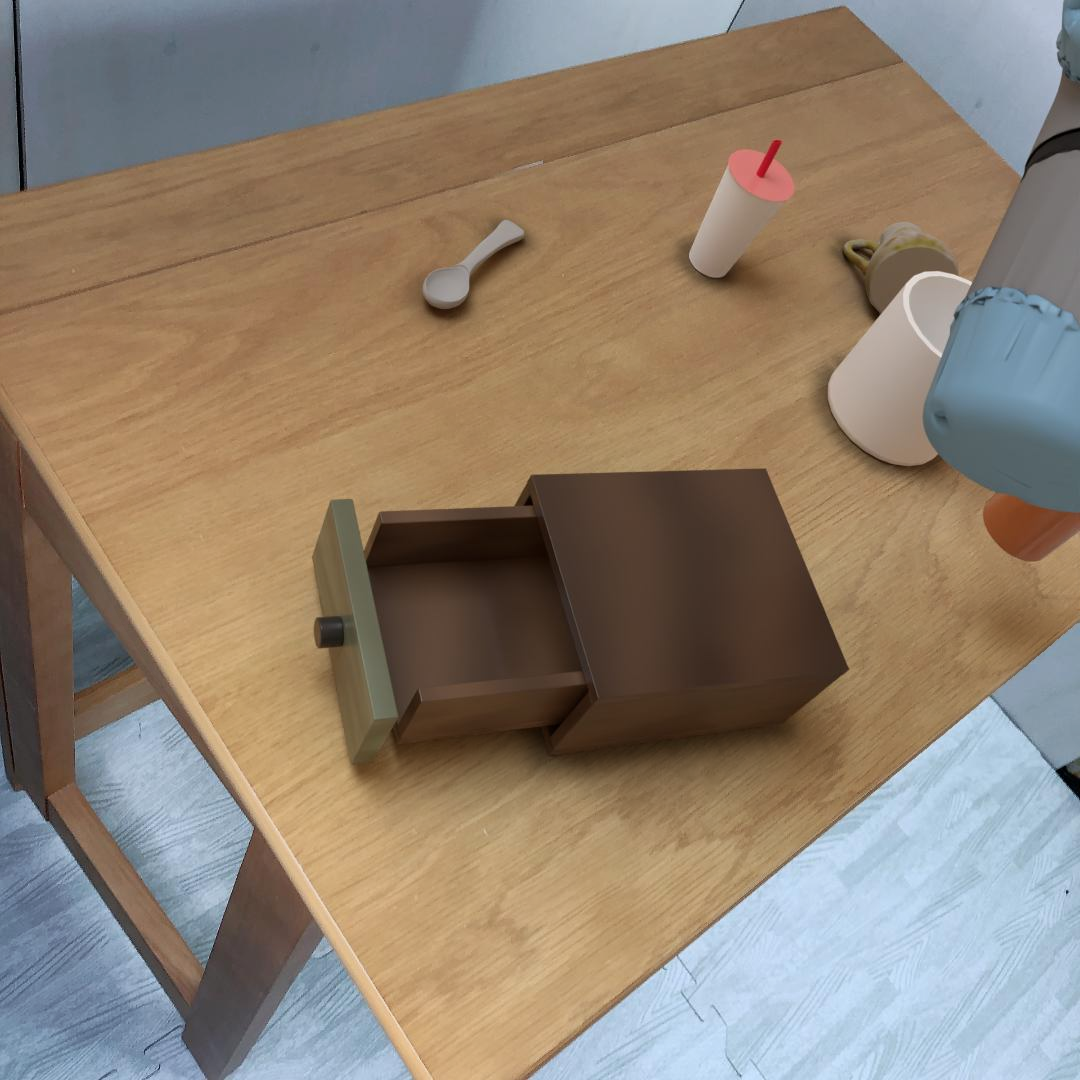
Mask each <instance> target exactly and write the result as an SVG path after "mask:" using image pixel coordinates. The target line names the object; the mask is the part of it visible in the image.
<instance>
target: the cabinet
mask: <svg viewBox="0 0 1080 1080" xmlns="http://www.w3.org/2000/svg"><path fill="white" fill-rule="evenodd" d="M532 505H534V508H535V512H536V515H537V518H538V522H539V525H540V528H541V532H542V535H543V539H544V542H545V545H546V549H547V552H548V555H549V559H550V562H551V566H552V569H553V572H554V576H555V579H556V582H557V586H558V589H559V593H560V596H561V599H562V603H563V606H564V609H565V613H566V616H567V620H568V623H569V626H570V630H571V633H572V636H573V640H574V643H575V647H576V650H577V653H578V657H579V660H580V663H581V667H582V670H583V674H584V677H585V680H586V684H587V687H588V690H589V692H588V693H587V694H586V696H585V697H584V698H583V699H582V700H581V702H580V703H579V704H578V705H577V706H576V707H575V709H574V710H573V711H572V712H571V713H570V715H569V716H568V717H567V718H566V719H565V720H564V722H563V723H562V724H556V725H548V726H540V729H541V733H542V736H543V740H544V743H545V744H544V745H545V747H546V750H547V755H548V756H555V755H556V756H557V755H565V754H572V753H579V752H586V751H587V752H588V751H594V750H595V751H596V750H602V749H609V748H617V747H624V746H631V745H638V744H646V743H652V742H661V741H667V740H668V741H669V740H675V739H682V738H683V739H684V738H689V737H696V736H697V737H698V736H703V735H712V734H719V733H727V732H735V731H740V730H741V731H742V730H748V729H756V728H763V727H764V728H765V727H769V726H771V727H772V726H778V725H783V724H784V723H785V722H787V721H788V720H790V718H792V717H793V716H794V715H795V714H796V713H798V712H799V711H800V710H801V709H802V708H804V707H805V706H806V705H807V704H809V703H810V702H811V701H812V700H814V699H815V698H816V697H817V696H819V695H820V694H821V693H822V692H823V691H824V690H826V689H827V688H828V687H829V686H831V685H832V684H833V683H834V682H836V681H837V680H838V679H839V678H841V677H842V676H843V675H845V674H846V673H847V672H848V671H850V668H849V665H848V663H847V661H846V658H845V656H844V653H843V651H842V648H841V646H840V644H839V641H838V639H837V636H836V635H835V634H836V633H835V631H834V629H833V627H832V624H831V622H830V620H829V617H828V614H827V612H826V610H825V607H824V605H823V603H822V601H821V598H820V595H819V593H818V591H817V588H816V586H815V584H814V581H813V578H812V576H811V574H810V571H809V569H808V566H807V564H806V562H805V559H804V557H803V555H802V552H801V549H800V548H799V545H798V543H797V540H796V537H795V535H794V533H793V531H792V527H791V526H790V523H789V521H788V518H787V516H786V514H785V511H784V508H783V506H782V504H781V501H780V499H779V496H778V494H777V492H776V490H775V487H774V485H773V482H772V480H771V477H770V474H769V472H768V471H767V468H765V467H763V468H762V467H761V468H732V469H731V468H727V469H725V468H724V469H691V470H689V469H687V470H656V471H655V470H653V471H652V470H651V471H616V472H615V471H614V472H582V473H581V472H576V473H545V474H544V473H543V474H541V473H540V474H531V475H530V476H529V478H528V480H527V481H526V484H525V486H524V487H523V489H522V491H521V493H520V494H519V496H518V498H517V500H516V502H515V504H514V505H513V506H532Z"/></svg>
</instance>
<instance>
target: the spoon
mask: <svg viewBox="0 0 1080 1080" xmlns="http://www.w3.org/2000/svg"><path fill="white" fill-rule="evenodd" d="M524 237H525V231H524V229H523V228H521V227H520V226H518V225H517V224H516V223H514V222H513V221H512V220H508V219H503V220H502V221H501V222H500V223H499V224H498V226H497V227H496V228H495V229H494V230H492V232H491V233H490V234H489V235H488V236H486V237H485V238H484V239H483V240H481V242H480V243H479V244H478V245H477V246H476V247H475V248H474V249H473V250H472V251H471V252H470V253H469V254H468V255H467V256H466V257H465V258H464V259H463V260H462V261H461V262H459V263H458V264H456V265H453V266H449V267H442V268H436V269H434V270H433V271H430V273H428V275H427V276H426V277H425V279H424V280H423V283H422V295H423V297H424V299H425V301H426V302H427V303H428V304H429V305H430V306H431V307H433V308H436V309H439V310H450V309H453V308H457V307H458V306H460V305H461V304H462V303H463V302H464V301H466V299H467V297H468V295H469V293H470V279H471V276H472V275H473V273H474V272H475V271H476V270H477V269H478V268H479V267H480V266H481V265H482V264H483V263H484V262H486V261H487V260H489V258H490V257H492V256H493V255H495V253H497V252H498V251H500V250H502V249H505V247H508V246H511V245H513V244H515V243H517V242H519V241H521V240H522V239H523V238H524Z"/></svg>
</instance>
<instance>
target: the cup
mask: <svg viewBox="0 0 1080 1080" xmlns="http://www.w3.org/2000/svg"><path fill="white" fill-rule="evenodd" d="M782 143H783V140H781V139H774V140H772V142H771V144H770V146H769V147H768V149H767V151H766V153H763V152H762V151H758V150H754V149H747V148H746V149H738V150H735V151H733V153H731V154H730V156H729V158H728V164H727V166H726V168H725V171H724V172H723V175H722V177H721V180H720V182H719V184H718V186H717V189H716V190H715V193H714V195H713V197H712V200H711V202H710V204H709V206H708V208H707V210H706V213H705V216H704V218H703V220H702V222H701V224H700V226H699V229H698V231H697V234H696V236H695V238H694V241H693V243H692V246H691V248H690V250H689V253H688V259H689V262H690V263H691V265H692V266H693V268H694V269H696V270H697V271H698V272H699V273H701V274H703V275H704V276H707V277H708V278H709V277H710V278H713V279H714V278H715V279H716V278H717V279H718V278H723V277H725V276H726V275H727V274H728V273H729V271H730V270H731V269H732V268H733V267H734V265H735V264H736V263H737V261H739V259H740V258H741V257H742V256H743V254H744V253H745V252H746V251H747V250H748V249H749V247H750V246H751V245H752V244H753V242H754V241H755V240H756V239H757V237H758V236H759V235H760V233H761V232H762V231H763V230H764V229H765V227H766V226H767V225H769V222H770V221H771V220H772V219H773V218H774V216H775V215H776V214H777V213H778V211H779V210H780V208H782V206H783V205H784V204H785V202H786V201H788V200H789V199H791V198H792V197H793V196H794V194H795V190H796V189H795V188H796V187H795V182H794V179H793V178H792V176H791V174H790V172H789V171H788V170H787V169H786V167H784V165H782V164H781V163H780V162H779V161H778V160H776V159H775V157H776V155H777V153H778V151H779V150H780V148H781V145H782Z"/></svg>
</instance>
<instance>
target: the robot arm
mask: <svg viewBox="0 0 1080 1080" xmlns="http://www.w3.org/2000/svg"><path fill="white" fill-rule="evenodd" d="M1055 46H1056V49H1057V52H1056V57H1057V61H1058V65H1059V66H1060V67H1061V77H1060V82H1059V85H1058V88H1057V92H1056V95H1055V97H1054V100H1053V102H1052V104H1051V106H1050V109H1049V111H1048V113H1047V115H1046V117H1045V119H1044V121H1043V124H1042V126H1041V128H1040V130H1039V132H1038V135H1037V137H1036V139H1035V141H1034V143H1033V146H1032V148H1031V150H1030V152H1029V155H1028V157H1027V159H1026V162H1025V164H1024V170H1023V171H1024V172H1023V175H1022V177H1021V179H1020V181H1019V183H1018V185H1017V187H1016V190H1015V192H1014V193H1013V196H1012V197H1011V200H1010V203H1009V204H1008V207H1007V208H1006V211H1005V212H1004V214H1003V217H1002V219H1001V221H1000V223H999V225H998V228H997V230H996V232H995V234H994V235H993V238H992V240H991V241H990V244H989V246H988V249H987V250H986V253H985V255H984V256H983V259H982V260H981V263H980V265H979V267H978V270H977V272H976V273H975V276H974V278H973V280H972V281H971V282H972V284H971V286H970V288H969V290H968V292H967V295H966V297H965V298H964V299H963V301H962V302H961V303H960V305H959V306H958V307H957V309H956V311H955V313H954V315H953V316H954V320H953V322H952V324H951V325H950V335H949V338H948V341H947V344H946V346H945V349H944V352H943V354H942V357H941V360H940V362H939V365H938V368H937V370H936V373H935V376H934V378H933V381H932V384H931V386H930V389H929V392H928V394H927V397H926V400H925V403H924V408H923V426H924V430H925V433H926V435H927V437H928V440H929V442H930V443H931V445H932V447H933V448H934V449H935V451H936V452H937V453H938V456H940V458H941V459H942V460H943V461H944V463H946V464H948V466H950V467H951V468H952V469H954V470H955V471H957V472H958V473H959V474H961V475H962V476H964V477H965V478H967V479H968V480H970V481H971V482H973V483H975V484H977V485H979V486H981V487H983V488H985V489H987V490H989V491H992V492H993V493H995V494H996V493H1002V494H1008V495H1012V496H1015V497H1018V498H1020V499H1021V500H1023V501H1024V502H1026V503H1028V504H1030V505H1034V506H1038V507H1041V508H1046V509H1051V510H1057V511H1064V512H1074V513H1080V0H1063V2H1062V11H1061V30H1060V31H1059V33H1058V34H1057V37H1056V41H1055Z"/></svg>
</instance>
